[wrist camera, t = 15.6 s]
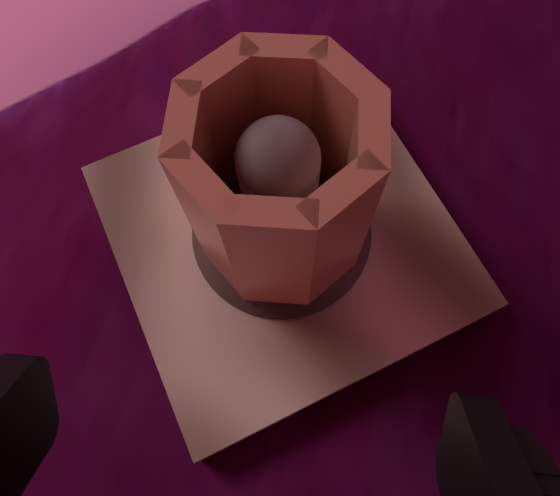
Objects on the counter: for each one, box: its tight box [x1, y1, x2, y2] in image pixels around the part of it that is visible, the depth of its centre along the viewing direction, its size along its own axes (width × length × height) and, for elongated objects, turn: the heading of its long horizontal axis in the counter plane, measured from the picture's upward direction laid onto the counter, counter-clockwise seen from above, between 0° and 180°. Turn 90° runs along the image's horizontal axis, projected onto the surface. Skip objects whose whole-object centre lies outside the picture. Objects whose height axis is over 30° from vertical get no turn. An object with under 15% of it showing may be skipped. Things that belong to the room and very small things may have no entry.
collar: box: [157, 32, 391, 305], centre depth 18 cm, size 6×6×8 cm
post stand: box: [81, 115, 508, 463], centre depth 19 cm, size 14×14×9 cm
